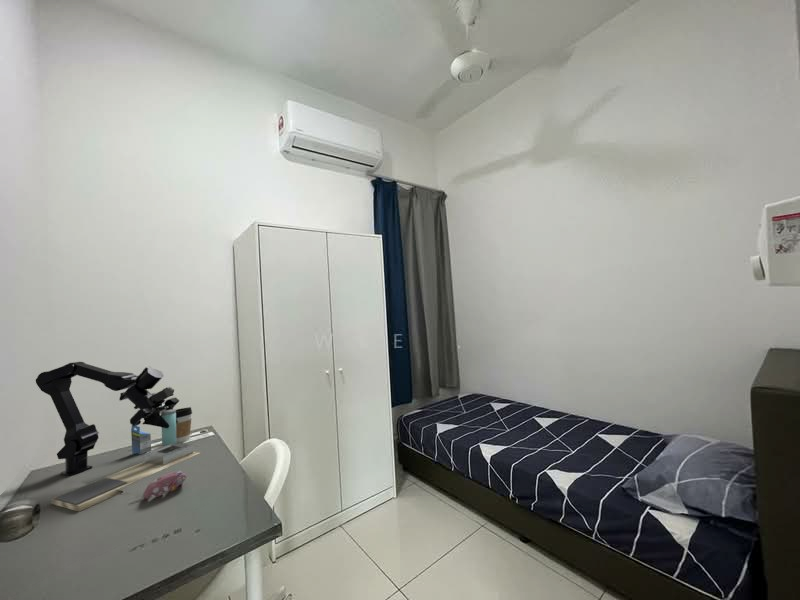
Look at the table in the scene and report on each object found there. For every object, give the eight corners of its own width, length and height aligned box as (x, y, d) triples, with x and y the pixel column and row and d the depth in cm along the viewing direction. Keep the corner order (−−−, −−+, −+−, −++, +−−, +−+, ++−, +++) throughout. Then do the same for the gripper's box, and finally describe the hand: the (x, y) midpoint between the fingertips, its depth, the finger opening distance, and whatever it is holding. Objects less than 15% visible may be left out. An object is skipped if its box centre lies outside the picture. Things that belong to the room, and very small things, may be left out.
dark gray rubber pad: (54, 499, 90) (54, 497, 90) (105, 478, 101) (105, 477, 101) (76, 505, 86) (76, 503, 86) (127, 483, 97) (127, 481, 97)
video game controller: (146, 507, 88) (148, 488, 86) (141, 496, 90) (144, 477, 89) (185, 491, 96) (189, 472, 94) (181, 480, 98) (184, 463, 97)
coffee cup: (184, 447, 130) (183, 411, 131) (164, 448, 130) (163, 412, 131) (197, 439, 138) (196, 405, 139) (178, 440, 138) (178, 407, 139)
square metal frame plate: (144, 462, 112) (144, 454, 113) (175, 450, 122) (175, 442, 123) (163, 465, 108) (163, 457, 109) (193, 452, 119) (193, 444, 119)
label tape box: (152, 454, 124) (151, 423, 125) (139, 458, 121) (139, 426, 122) (143, 451, 129) (142, 421, 130) (130, 454, 125) (130, 424, 126)
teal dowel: (159, 445, 115) (158, 412, 115) (171, 440, 119) (171, 409, 119) (166, 445, 113) (166, 412, 114) (179, 441, 117) (178, 409, 118)
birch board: (51, 503, 91) (51, 498, 91) (175, 453, 123) (174, 449, 123) (79, 511, 85) (79, 506, 85) (200, 456, 118) (200, 452, 118)
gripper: (138, 387, 108) (171, 416, 108) (174, 377, 126) (202, 402, 126) (114, 411, 107) (148, 440, 107) (154, 398, 125) (182, 423, 125)
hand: (172, 425), depth 116 cm, fingers closed on teal dowel, 4 cm apart
